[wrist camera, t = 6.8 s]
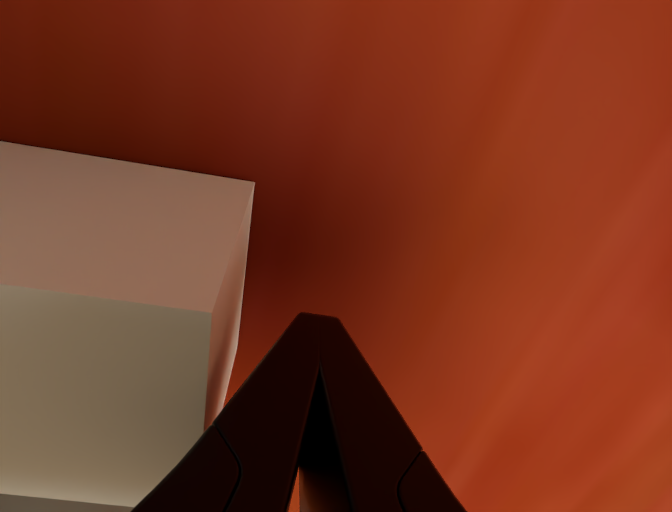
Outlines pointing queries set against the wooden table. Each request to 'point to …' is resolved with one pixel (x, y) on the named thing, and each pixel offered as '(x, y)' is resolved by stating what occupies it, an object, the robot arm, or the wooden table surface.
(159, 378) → the t block
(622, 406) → the wooden table surface
